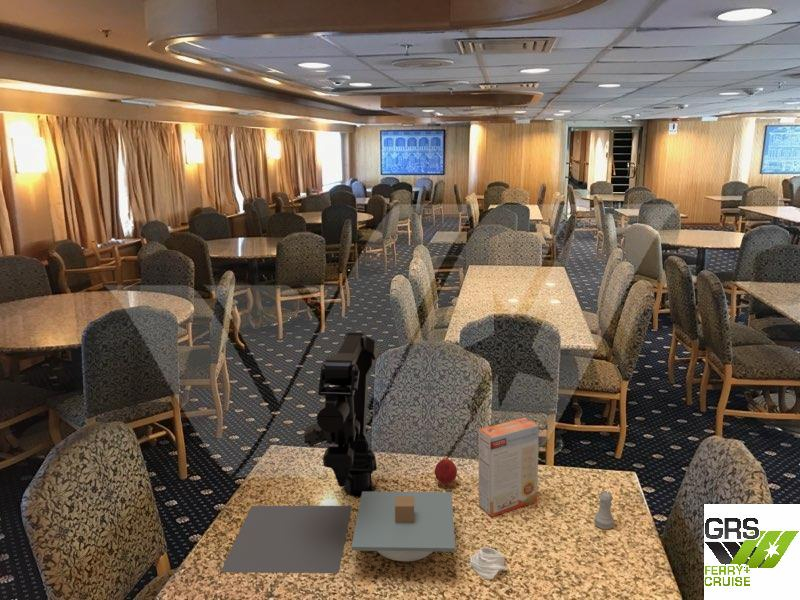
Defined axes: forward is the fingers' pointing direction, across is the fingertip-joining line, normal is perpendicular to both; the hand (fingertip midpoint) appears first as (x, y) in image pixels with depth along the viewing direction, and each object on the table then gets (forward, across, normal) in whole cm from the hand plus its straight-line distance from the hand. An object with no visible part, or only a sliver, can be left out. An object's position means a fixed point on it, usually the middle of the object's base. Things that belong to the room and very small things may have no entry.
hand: (344, 475), depth 144 cm
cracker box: (+13, -9, +39) cm, 42 cm away
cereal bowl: (+13, +9, +14) cm, 21 cm away
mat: (+13, +5, -12) cm, 18 cm away
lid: (+6, +9, +14) cm, 18 cm away
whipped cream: (+13, +15, +32) cm, 37 cm away
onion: (+13, -18, +24) cm, 33 cm away
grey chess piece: (+13, -1, +60) cm, 62 cm away
